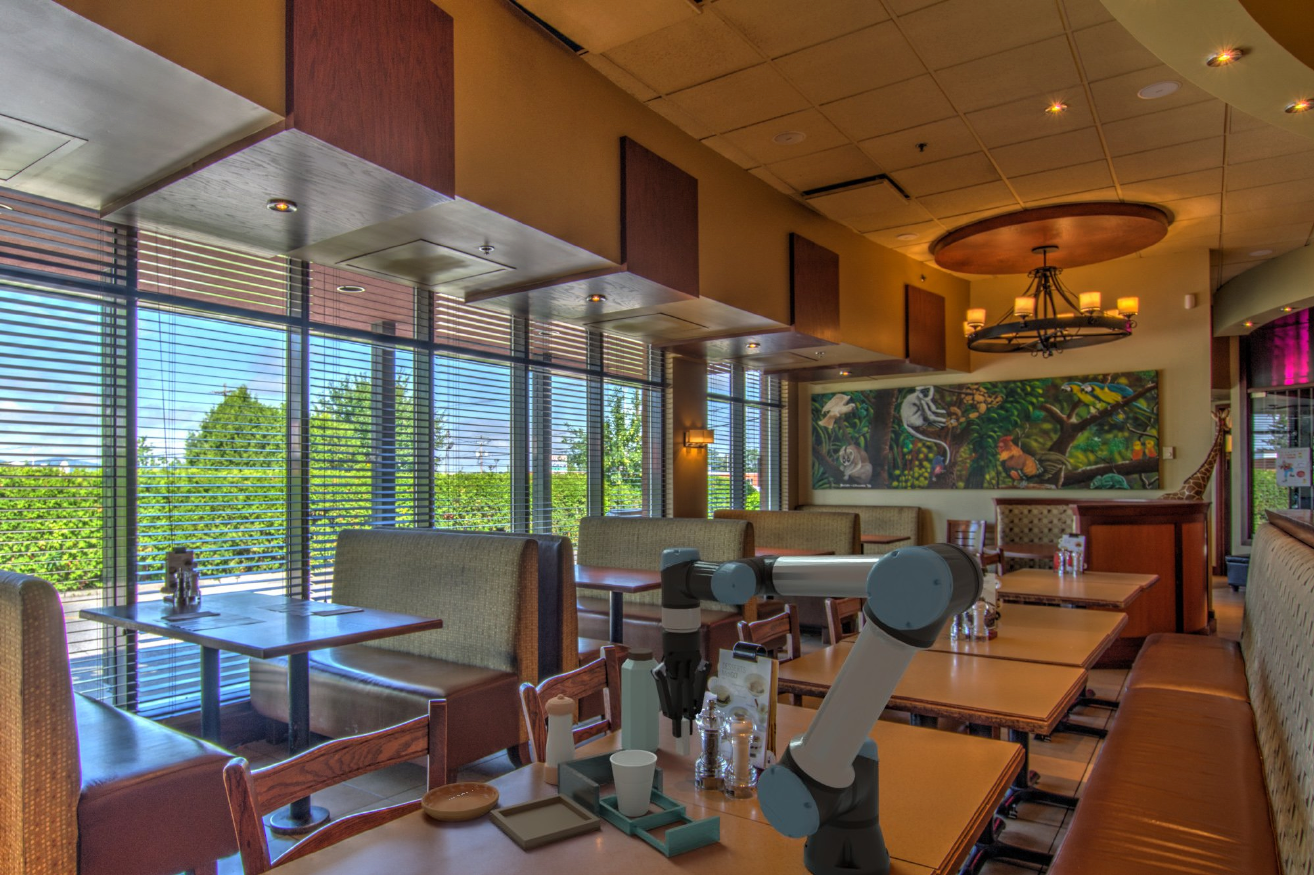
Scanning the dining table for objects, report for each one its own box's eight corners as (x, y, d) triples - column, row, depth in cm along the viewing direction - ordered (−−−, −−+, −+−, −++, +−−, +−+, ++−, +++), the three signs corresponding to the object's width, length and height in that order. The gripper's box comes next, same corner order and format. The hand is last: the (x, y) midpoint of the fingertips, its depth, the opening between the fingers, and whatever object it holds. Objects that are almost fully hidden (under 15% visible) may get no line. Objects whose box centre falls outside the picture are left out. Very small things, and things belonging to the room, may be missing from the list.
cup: (653, 822, 164) (653, 767, 164) (604, 819, 165) (605, 764, 166) (660, 803, 173) (660, 750, 174) (615, 800, 175) (615, 748, 175)
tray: (600, 828, 161) (600, 819, 161) (524, 850, 152) (524, 840, 152) (561, 801, 174) (561, 792, 174) (489, 819, 165) (489, 810, 165)
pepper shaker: (579, 782, 185) (580, 696, 186) (548, 786, 183) (549, 700, 184) (571, 771, 192) (571, 689, 193) (540, 775, 189) (541, 692, 190)
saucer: (418, 801, 175) (418, 786, 176) (492, 790, 181) (492, 777, 181) (424, 831, 161) (424, 815, 161) (505, 819, 166) (505, 804, 166)
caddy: (723, 840, 155) (723, 815, 156) (664, 859, 148) (664, 833, 148) (648, 796, 177) (648, 775, 177) (594, 811, 169) (594, 788, 169)
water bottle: (616, 745, 210) (616, 647, 211) (653, 741, 213) (653, 645, 214) (626, 758, 201) (626, 656, 202) (665, 754, 204) (665, 653, 205)
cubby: (662, 800, 175) (662, 769, 175) (594, 818, 165) (594, 786, 166) (623, 777, 188) (623, 748, 189) (557, 793, 179) (557, 763, 179)
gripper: (698, 622, 163) (700, 742, 162) (642, 629, 157) (643, 754, 155) (720, 628, 157) (722, 752, 156) (662, 635, 150) (663, 765, 149)
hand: (682, 753), depth 156 cm, fingers closed
